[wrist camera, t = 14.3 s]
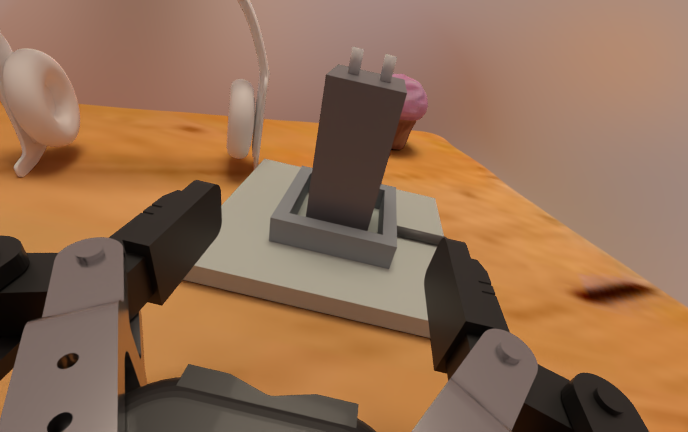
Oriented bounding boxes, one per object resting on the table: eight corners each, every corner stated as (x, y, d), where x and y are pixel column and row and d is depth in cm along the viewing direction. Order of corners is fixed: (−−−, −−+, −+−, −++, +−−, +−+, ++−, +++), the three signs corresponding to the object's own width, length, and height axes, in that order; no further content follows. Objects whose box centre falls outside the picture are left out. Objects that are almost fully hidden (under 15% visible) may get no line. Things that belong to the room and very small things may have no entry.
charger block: (303, 231, 23) (330, 46, 16) (316, 200, 27) (342, 41, 20) (363, 245, 23) (415, 65, 16) (367, 212, 27) (410, 56, 20)
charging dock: (174, 277, 19) (167, 233, 17) (263, 171, 33) (265, 140, 31) (456, 344, 19) (480, 307, 17) (430, 210, 32) (442, 181, 31)
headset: (263, 155, 36) (272, -38, 26) (267, 186, 31) (280, -44, 21) (49, 142, 30) (-46, -120, 20) (5, 178, 24) (-154, -159, 14)
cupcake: (366, 155, 42) (385, 76, 36) (347, 131, 49) (361, 62, 43) (422, 158, 45) (447, 86, 39) (397, 135, 51) (416, 71, 46)
